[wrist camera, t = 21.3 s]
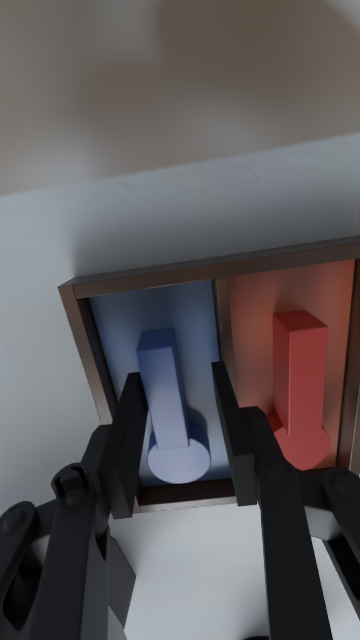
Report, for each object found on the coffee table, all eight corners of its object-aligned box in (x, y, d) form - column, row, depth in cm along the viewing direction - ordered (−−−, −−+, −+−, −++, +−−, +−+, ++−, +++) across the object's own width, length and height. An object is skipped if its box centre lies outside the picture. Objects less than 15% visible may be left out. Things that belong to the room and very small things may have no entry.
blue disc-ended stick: (122, 333, 16) (112, 354, 14) (193, 324, 16) (195, 343, 13) (154, 467, 20) (151, 501, 18) (211, 461, 20) (216, 494, 18)
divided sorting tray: (73, 277, 16) (57, 286, 14) (364, 234, 15) (394, 237, 13) (135, 486, 22) (130, 514, 20) (340, 464, 21) (357, 491, 19)
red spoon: (251, 316, 16) (265, 334, 13) (326, 306, 15) (353, 322, 13) (258, 456, 20) (269, 489, 17) (317, 449, 20) (337, 482, 17)
